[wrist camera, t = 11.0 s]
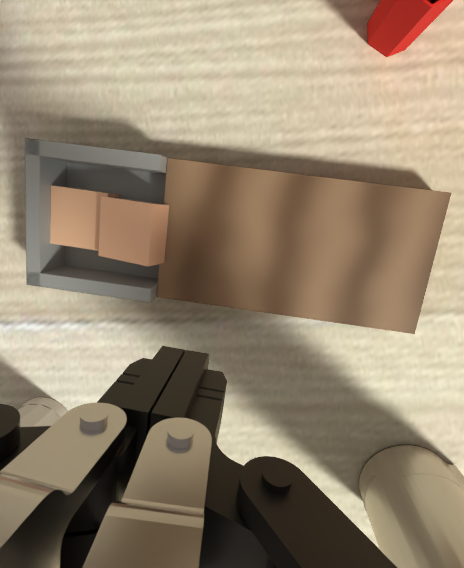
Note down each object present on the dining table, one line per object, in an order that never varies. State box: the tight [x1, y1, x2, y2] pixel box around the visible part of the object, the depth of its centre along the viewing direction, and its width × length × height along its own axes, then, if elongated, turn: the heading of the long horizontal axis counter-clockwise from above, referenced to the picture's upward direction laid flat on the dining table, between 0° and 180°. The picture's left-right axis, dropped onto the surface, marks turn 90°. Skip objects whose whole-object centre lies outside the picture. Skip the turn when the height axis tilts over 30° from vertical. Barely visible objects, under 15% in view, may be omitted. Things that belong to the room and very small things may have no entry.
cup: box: [17, 397, 68, 427], centre depth 33 cm, size 8×8×12 cm
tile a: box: [98, 196, 169, 266], centre depth 30 cm, size 5×5×2 cm
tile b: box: [50, 185, 120, 251], centre depth 31 cm, size 5×5×2 cm
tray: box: [25, 138, 167, 302], centre depth 31 cm, size 11×12×4 cm
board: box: [157, 158, 451, 334], centre depth 31 cm, size 23×12×2 cm, turn 83°
